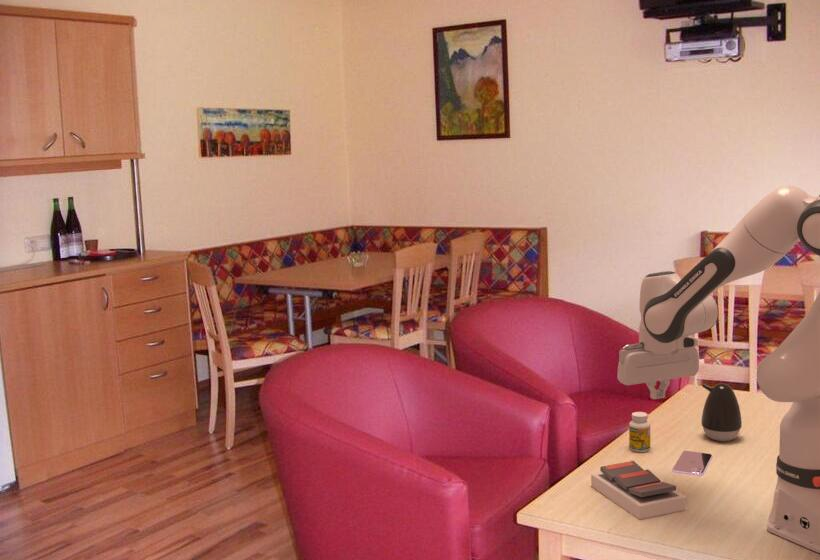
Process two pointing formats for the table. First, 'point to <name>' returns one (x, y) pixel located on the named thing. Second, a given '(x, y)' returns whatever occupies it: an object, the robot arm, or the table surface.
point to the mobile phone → (692, 463)
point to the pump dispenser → (721, 413)
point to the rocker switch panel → (639, 499)
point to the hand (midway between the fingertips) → (657, 398)
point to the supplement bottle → (639, 432)
